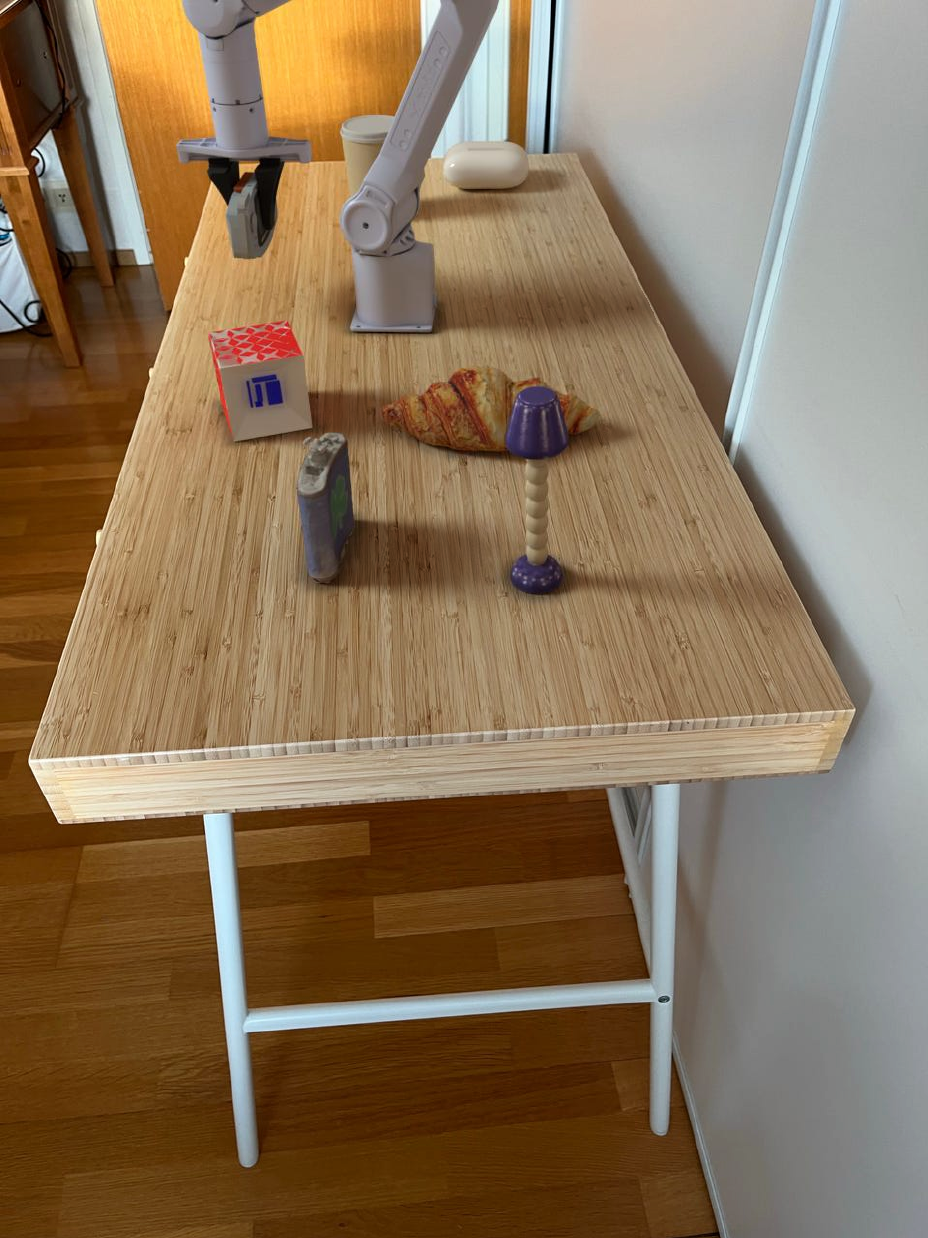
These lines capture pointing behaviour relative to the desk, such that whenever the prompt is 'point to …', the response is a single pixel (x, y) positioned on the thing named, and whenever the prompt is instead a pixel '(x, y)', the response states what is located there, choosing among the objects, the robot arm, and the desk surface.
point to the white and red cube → (261, 380)
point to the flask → (325, 504)
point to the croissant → (475, 410)
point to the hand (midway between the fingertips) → (256, 226)
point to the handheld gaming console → (248, 220)
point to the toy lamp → (536, 481)
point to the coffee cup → (363, 145)
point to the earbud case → (485, 165)
